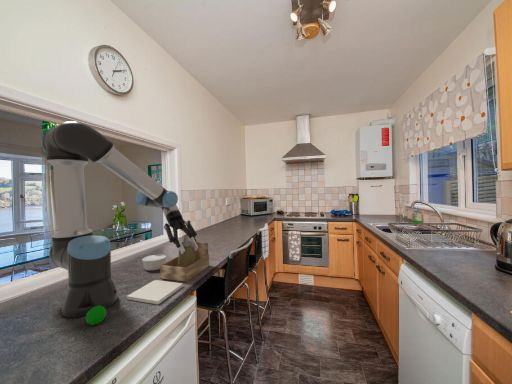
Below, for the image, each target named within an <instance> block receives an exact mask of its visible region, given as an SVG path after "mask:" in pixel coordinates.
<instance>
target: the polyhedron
mask: <svg viewBox="0 0 512 384" xmlns="http://www.w3.org/2000/svg"><path fill="white" fill-rule="evenodd" d="M107 313H108V311H107V308H105V307H103V306H95V307H93V308H92V309H90V310H89V311H88V312H87V314H86V316H84V318H85V321H86V323H87V324H88V325H90V326H95V325H98V324H101V322H102V321H104V320H105V318H106V316H107Z"/></svg>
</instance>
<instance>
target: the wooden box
mask: <svg viewBox="0 0 512 384" xmlns="http://www.w3.org/2000/svg"><path fill="white" fill-rule="evenodd" d="M196 244H197V246H198V249H197V250H196V251H195V250H194V248H193V251H194V259H195V263H193V264H191V265H190V266H188V267H186V268H185V267H178V256H176V257H174V258H172V259H170V260H168V261H165V263H164V264H162V265H160V269H159V271H160V272H159V273H160V274H159V276H160V277H159V278H160V279H162V280H168V281H169V280H170V281H177V282H178V281H179V282H186V283H188V282H189V281H190V280H191V279H192V278H195V277H196V276H197V275H198V274H199V273H201V272H202V271H204V270H205V269H206V268H208V267H210V253H209V243H208V242H199V241H197V242H196ZM191 246H192V244H191ZM192 247H193V246H192ZM160 279H159V280H160Z"/></svg>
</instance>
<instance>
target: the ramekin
mask: <svg viewBox="0 0 512 384" xmlns="http://www.w3.org/2000/svg"><path fill="white" fill-rule="evenodd" d="M166 259H167V256H166V255H165V254H152V255H147V256H145V257H143V258H142V259H141V262H142V265H143V269H144V270H145V271H148V272H149V271H151V272H152V271H156V270H157V271H158V270H160V265H162V264H164V263H166Z"/></svg>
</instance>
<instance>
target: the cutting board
mask: <svg viewBox="0 0 512 384" xmlns="http://www.w3.org/2000/svg"><path fill="white" fill-rule="evenodd" d="M183 287H184V283H183V282H173V281H169V280H168V281H165V280H160V279H159V280H158V279H154V280H152V281H151V282H149V283H147V284H146V285H144V286H142V287H140V288H138V289H137V290H135V291H133V292H131V293H129V294H128V295H126V300H129V301H134V302H135V301H136V302H139V303H140V302H141V303H147V304H153V305H160V304H161V303H162V302H164V301H165V300H166V299H168V298H169V297H170V296H172V295H173V294H175V293H176V292H177V291H179V290H181V289H182V288H183Z"/></svg>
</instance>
